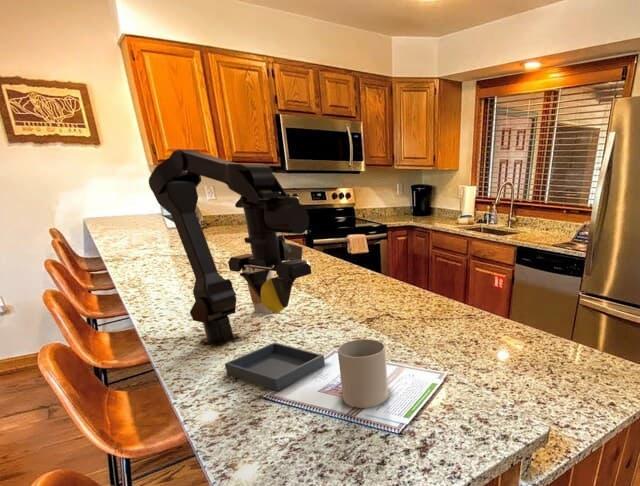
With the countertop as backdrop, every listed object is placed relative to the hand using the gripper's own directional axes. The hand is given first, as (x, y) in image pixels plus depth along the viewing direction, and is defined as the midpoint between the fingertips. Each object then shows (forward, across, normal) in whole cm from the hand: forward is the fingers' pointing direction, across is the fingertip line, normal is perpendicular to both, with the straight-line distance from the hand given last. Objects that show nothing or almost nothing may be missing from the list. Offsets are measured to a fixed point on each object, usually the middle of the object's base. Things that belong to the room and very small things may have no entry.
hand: (275, 305), depth 93 cm
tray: (+12, -4, +6) cm, 14 cm away
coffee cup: (+12, +30, -22) cm, 39 cm away
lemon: (+2, 0, 0) cm, 2 cm away
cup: (+12, -28, +7) cm, 31 cm away
